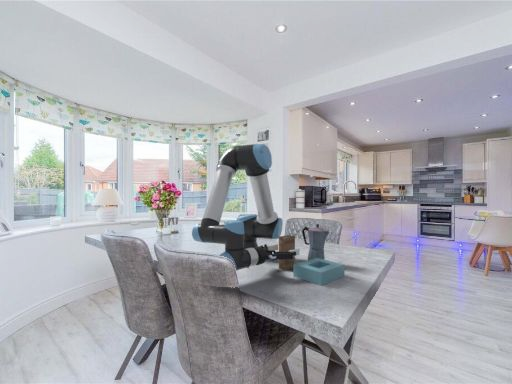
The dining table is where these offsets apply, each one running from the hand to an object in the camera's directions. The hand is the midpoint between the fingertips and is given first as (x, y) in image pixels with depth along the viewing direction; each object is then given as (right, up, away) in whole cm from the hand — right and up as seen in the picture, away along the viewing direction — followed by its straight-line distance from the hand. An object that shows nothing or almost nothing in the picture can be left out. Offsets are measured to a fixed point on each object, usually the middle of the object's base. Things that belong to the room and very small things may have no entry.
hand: (287, 249), depth 116 cm
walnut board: (0, -9, 0) cm, 9 cm away
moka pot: (+15, -9, +8) cm, 20 cm away
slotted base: (+12, -9, -12) cm, 19 cm away
